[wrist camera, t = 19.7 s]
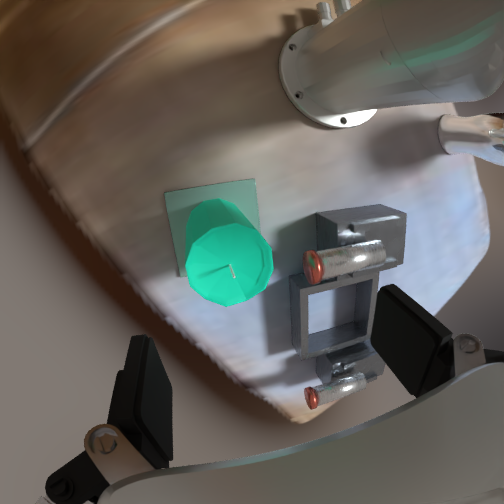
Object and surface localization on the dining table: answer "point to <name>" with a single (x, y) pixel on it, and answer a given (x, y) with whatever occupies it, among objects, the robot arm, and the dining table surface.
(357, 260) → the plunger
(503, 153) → the beer glass
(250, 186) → the pad
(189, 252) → the candle
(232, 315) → the dining table surface
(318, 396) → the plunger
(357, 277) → the housing
